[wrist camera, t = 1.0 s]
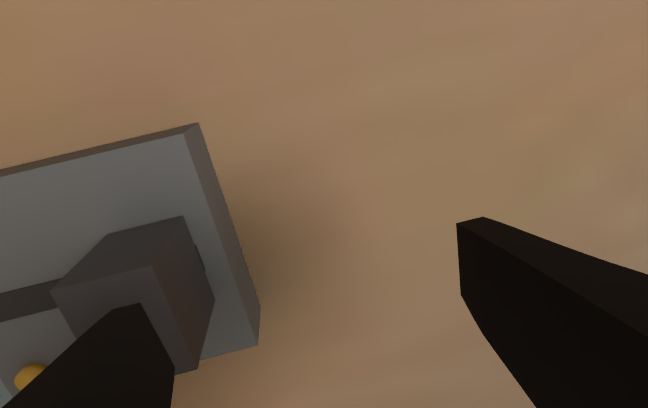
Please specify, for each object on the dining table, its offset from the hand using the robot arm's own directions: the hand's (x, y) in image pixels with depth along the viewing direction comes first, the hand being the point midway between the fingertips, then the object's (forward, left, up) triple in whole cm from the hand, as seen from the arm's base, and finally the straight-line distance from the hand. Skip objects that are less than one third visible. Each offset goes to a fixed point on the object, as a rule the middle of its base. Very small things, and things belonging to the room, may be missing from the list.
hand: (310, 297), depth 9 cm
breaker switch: (-2, +6, -7) cm, 9 cm away
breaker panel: (-2, +9, -10) cm, 14 cm away
